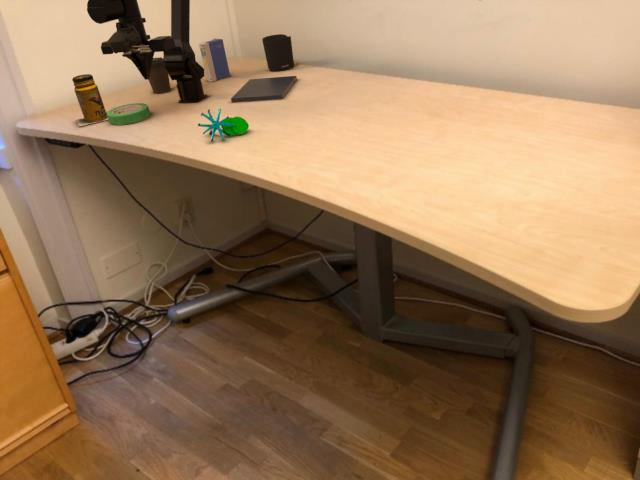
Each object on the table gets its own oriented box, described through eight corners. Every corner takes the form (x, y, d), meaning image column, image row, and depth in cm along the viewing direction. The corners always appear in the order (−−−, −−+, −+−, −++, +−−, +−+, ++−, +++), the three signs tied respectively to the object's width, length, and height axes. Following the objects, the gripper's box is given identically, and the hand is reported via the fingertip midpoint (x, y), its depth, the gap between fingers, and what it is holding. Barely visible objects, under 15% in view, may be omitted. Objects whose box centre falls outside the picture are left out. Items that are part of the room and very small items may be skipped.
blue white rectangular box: (225, 75, 197) (216, 37, 191) (230, 75, 196) (222, 38, 189) (206, 81, 192) (197, 42, 186) (211, 81, 191) (203, 43, 184)
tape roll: (118, 127, 156) (115, 118, 155) (103, 120, 164) (100, 111, 162) (157, 116, 162) (154, 106, 160) (141, 110, 169) (138, 100, 168)
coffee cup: (180, 88, 187) (172, 56, 182) (160, 95, 181) (151, 62, 176) (163, 87, 191) (154, 55, 186) (143, 94, 185) (134, 61, 180)
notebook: (297, 79, 182) (296, 75, 182) (282, 99, 165) (282, 94, 164) (250, 83, 184) (249, 79, 184) (231, 102, 167) (230, 98, 166)
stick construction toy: (202, 137, 135) (198, 105, 135) (195, 148, 141) (191, 117, 141) (252, 139, 140) (248, 108, 141) (243, 150, 146) (239, 120, 147)
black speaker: (264, 72, 195) (258, 41, 190) (272, 65, 203) (267, 35, 197) (291, 70, 193) (286, 39, 188) (298, 64, 201) (293, 33, 196)
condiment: (111, 119, 164) (97, 75, 158) (80, 126, 160) (64, 82, 154) (105, 114, 169) (91, 71, 163) (75, 121, 166) (59, 78, 159)
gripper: (77, 24, 143) (98, 88, 151) (143, 19, 138) (161, 86, 146) (105, 16, 152) (124, 77, 160) (168, 11, 147) (184, 75, 155)
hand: (147, 79), depth 155 cm, fingers closed
